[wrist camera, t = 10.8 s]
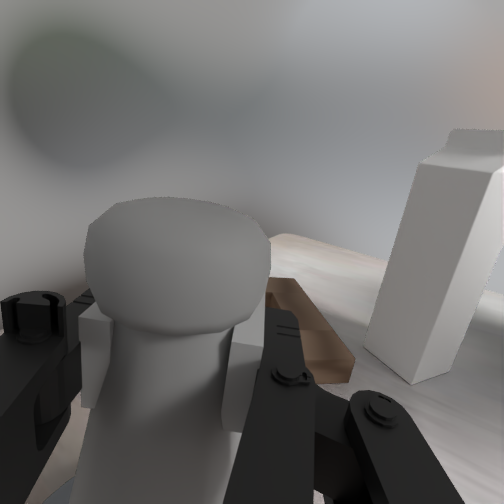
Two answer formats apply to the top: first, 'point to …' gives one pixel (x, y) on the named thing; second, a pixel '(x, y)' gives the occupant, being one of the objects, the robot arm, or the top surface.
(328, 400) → the robot arm
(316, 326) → the socket block
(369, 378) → the top surface
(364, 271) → the top surface
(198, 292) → the salt shaker
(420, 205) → the milk
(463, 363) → the top surface
